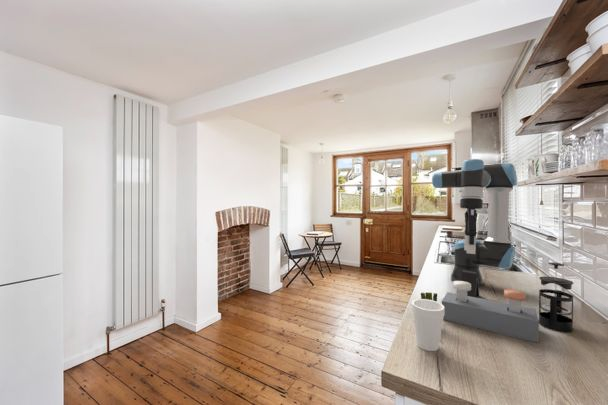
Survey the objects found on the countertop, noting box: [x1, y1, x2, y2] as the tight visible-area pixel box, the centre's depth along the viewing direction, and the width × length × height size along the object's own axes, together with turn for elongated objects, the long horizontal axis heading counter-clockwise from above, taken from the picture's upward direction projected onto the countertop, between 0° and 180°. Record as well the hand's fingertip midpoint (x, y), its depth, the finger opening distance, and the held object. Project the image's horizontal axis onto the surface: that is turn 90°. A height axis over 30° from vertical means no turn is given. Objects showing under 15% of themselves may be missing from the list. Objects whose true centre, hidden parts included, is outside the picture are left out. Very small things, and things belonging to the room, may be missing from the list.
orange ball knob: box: [503, 288, 527, 313], centre depth 93 cm, size 6×6×8 cm
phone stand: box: [462, 270, 481, 298], centre depth 125 cm, size 9×6×12 cm, turn 134°
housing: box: [441, 291, 540, 344], centre depth 98 cm, size 12×28×7 cm, turn 52°
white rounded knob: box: [452, 281, 471, 302], centre depth 103 cm, size 6×6×8 cm
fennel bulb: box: [420, 292, 438, 302], centre depth 97 cm, size 6×5×12 cm
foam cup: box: [411, 298, 445, 352], centre depth 84 cm, size 10×9×13 cm
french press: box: [538, 261, 575, 334], centre depth 96 cm, size 12×9×23 cm
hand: (469, 252), depth 105 cm, fingers open, 13 cm apart
